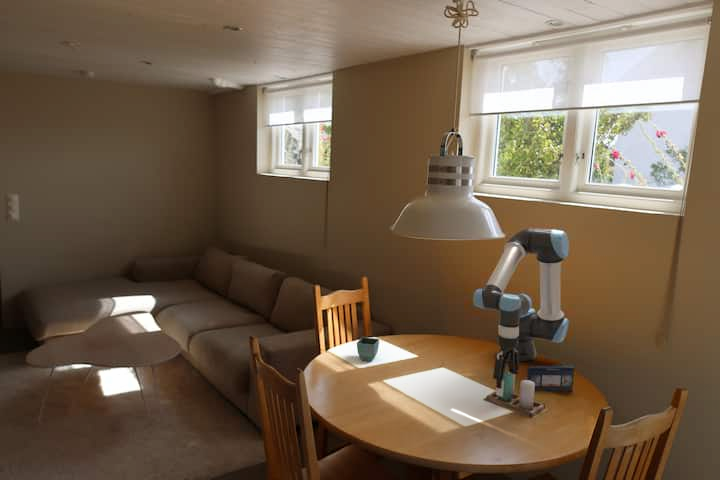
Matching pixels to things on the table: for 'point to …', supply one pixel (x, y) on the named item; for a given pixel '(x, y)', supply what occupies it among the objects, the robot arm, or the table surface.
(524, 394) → the white cylinder
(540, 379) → the vhs cassette tape
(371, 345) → the flower pot
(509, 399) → the teal rounded cylinder
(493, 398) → the rack
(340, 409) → the table surface
